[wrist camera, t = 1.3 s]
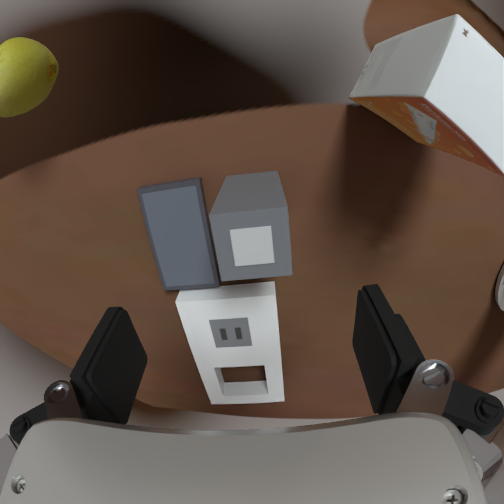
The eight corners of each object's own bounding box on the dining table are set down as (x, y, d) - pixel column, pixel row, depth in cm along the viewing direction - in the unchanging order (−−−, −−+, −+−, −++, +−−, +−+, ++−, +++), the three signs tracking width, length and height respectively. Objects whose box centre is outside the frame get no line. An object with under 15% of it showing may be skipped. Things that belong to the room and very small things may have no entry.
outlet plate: (274, 281, 31) (275, 295, 29) (283, 387, 39) (284, 402, 37) (180, 288, 32) (174, 303, 29) (213, 391, 40) (211, 405, 37)
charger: (277, 170, 26) (287, 207, 17) (281, 218, 28) (292, 275, 19) (226, 176, 26) (208, 215, 17) (233, 223, 28) (221, 282, 19)
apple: (67, 113, 22) (-23, 126, 13) (29, 111, 24) (-45, 124, 15) (81, 35, 18) (-7, 27, 10) (40, 44, 20) (-34, 45, 11)
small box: (346, 98, 23) (420, 97, 11) (374, 43, 20) (457, 9, 8) (416, 144, 24) (509, 181, 12) (441, 92, 21) (539, 102, 10)
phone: (201, 176, 26) (199, 179, 25) (220, 281, 31) (219, 287, 30) (140, 187, 27) (136, 189, 26) (166, 286, 31) (164, 290, 31)
